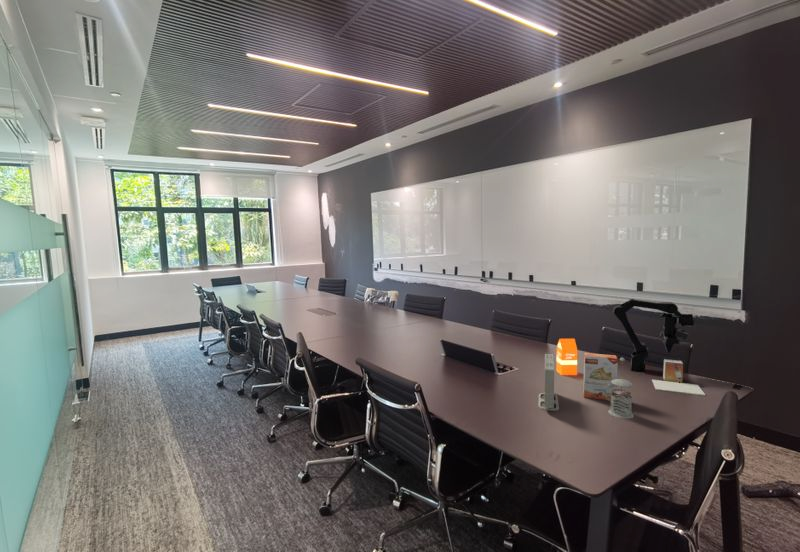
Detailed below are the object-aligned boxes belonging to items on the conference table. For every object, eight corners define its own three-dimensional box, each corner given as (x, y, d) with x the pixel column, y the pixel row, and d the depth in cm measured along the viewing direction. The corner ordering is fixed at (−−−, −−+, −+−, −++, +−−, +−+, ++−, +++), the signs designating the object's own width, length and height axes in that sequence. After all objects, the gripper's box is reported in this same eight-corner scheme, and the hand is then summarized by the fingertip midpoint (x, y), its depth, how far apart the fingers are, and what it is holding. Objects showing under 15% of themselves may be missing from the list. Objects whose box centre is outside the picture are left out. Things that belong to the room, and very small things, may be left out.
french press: (633, 420, 164) (635, 362, 162) (602, 414, 170) (603, 358, 168) (634, 411, 172) (635, 356, 170) (604, 406, 178) (605, 352, 176)
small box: (664, 380, 208) (664, 361, 207) (662, 377, 213) (663, 358, 212) (682, 383, 204) (683, 363, 204) (680, 379, 209) (681, 360, 208)
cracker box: (583, 397, 188) (584, 355, 186) (583, 393, 194) (583, 352, 192) (616, 401, 183) (618, 358, 181) (614, 396, 188) (616, 354, 187)
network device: (559, 414, 171) (559, 370, 169) (538, 411, 174) (538, 368, 172) (557, 393, 195) (557, 353, 193) (538, 391, 198) (539, 352, 196)
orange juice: (577, 375, 220) (577, 340, 218) (561, 375, 220) (561, 340, 218) (571, 370, 228) (571, 336, 226) (556, 370, 228) (556, 337, 226)
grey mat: (656, 389, 196) (656, 388, 196) (651, 380, 209) (651, 379, 209) (705, 395, 187) (705, 394, 187) (697, 385, 200) (697, 384, 200)
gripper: (691, 329, 205) (690, 358, 207) (683, 322, 222) (682, 349, 224) (666, 328, 210) (665, 356, 212) (660, 321, 227) (659, 347, 228)
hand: (668, 352), depth 219 cm, fingers closed
